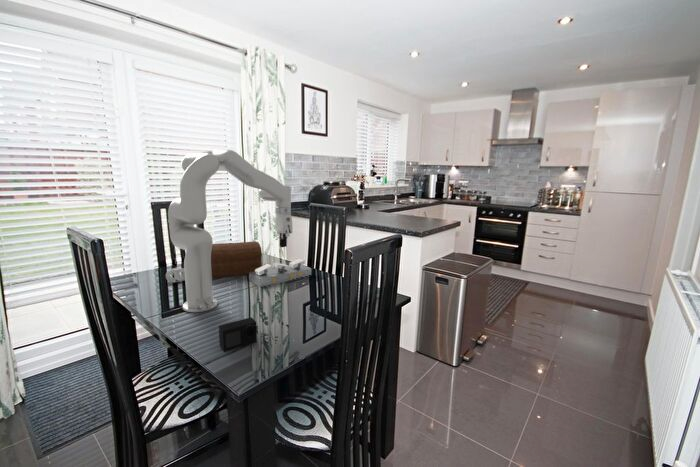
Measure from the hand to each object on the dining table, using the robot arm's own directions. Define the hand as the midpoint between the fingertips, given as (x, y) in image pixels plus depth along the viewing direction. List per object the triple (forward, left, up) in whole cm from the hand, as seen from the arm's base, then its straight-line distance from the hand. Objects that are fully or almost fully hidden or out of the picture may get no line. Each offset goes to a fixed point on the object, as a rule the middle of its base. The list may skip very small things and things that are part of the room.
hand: (283, 246), depth 160 cm
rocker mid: (0, +1, -10) cm, 10 cm away
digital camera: (-49, +43, -17) cm, 67 cm away
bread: (+24, +18, -17) cm, 34 cm away
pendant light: (+25, +44, -17) cm, 53 cm away
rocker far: (0, -8, -10) cm, 13 cm away
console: (0, +1, -16) cm, 16 cm away
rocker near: (0, +11, -10) cm, 15 cm away
